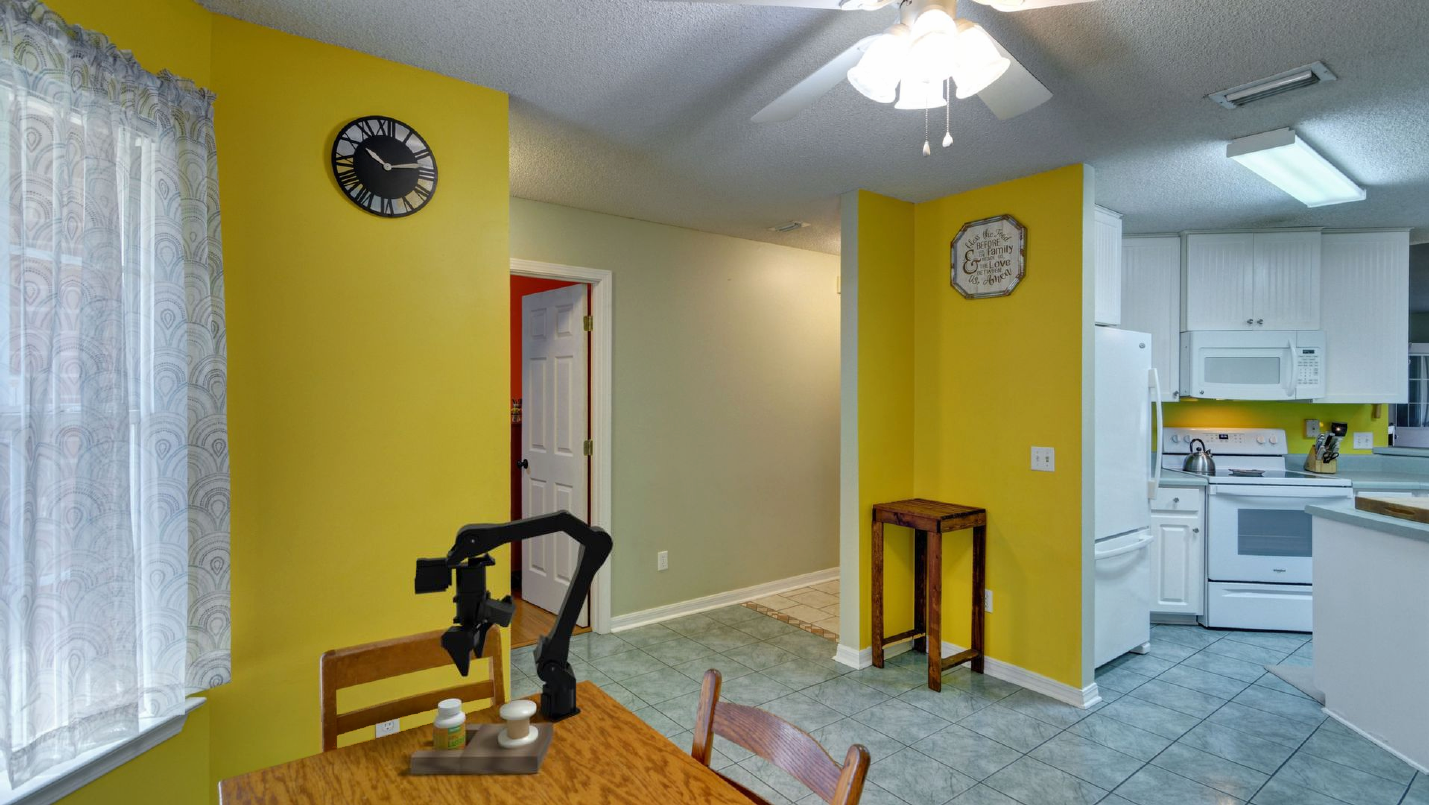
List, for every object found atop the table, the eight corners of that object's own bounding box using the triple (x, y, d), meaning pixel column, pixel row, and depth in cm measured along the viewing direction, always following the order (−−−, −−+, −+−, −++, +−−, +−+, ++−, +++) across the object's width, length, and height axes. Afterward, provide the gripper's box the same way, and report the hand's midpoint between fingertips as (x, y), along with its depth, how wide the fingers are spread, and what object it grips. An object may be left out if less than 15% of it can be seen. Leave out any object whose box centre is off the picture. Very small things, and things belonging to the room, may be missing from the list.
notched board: (553, 739, 131) (553, 723, 131) (537, 773, 119) (537, 756, 119) (437, 740, 130) (437, 724, 130) (410, 774, 118) (410, 757, 118)
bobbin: (525, 726, 129) (525, 695, 129) (545, 739, 125) (545, 707, 125) (491, 739, 124) (491, 707, 124) (510, 753, 120) (510, 720, 120)
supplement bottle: (448, 767, 121) (448, 712, 121) (427, 759, 123) (427, 706, 123) (471, 752, 126) (471, 700, 125) (451, 746, 128) (451, 694, 128)
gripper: (499, 601, 127) (501, 685, 127) (522, 575, 145) (523, 648, 146) (439, 603, 126) (440, 687, 126) (469, 577, 145) (470, 650, 145)
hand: (472, 666), depth 136 cm, fingers open, 9 cm apart
